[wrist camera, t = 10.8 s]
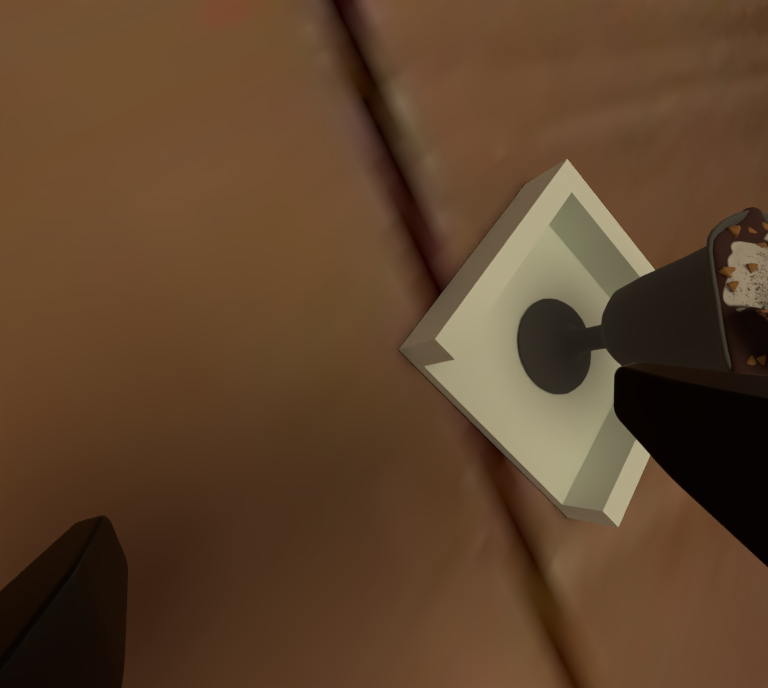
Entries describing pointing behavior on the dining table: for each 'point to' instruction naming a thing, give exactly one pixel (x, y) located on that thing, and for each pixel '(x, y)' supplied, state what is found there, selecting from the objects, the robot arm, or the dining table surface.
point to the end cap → (501, 353)
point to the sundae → (666, 314)
